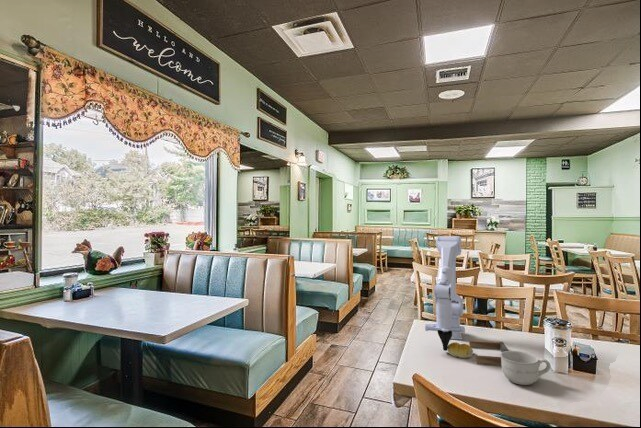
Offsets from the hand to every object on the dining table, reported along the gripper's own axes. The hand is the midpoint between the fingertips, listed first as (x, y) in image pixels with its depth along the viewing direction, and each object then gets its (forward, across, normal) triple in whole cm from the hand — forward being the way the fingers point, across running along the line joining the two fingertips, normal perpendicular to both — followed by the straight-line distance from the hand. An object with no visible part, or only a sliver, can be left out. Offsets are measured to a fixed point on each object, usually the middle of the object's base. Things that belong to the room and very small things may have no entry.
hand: (445, 349), depth 131 cm
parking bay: (+1, +16, 0) cm, 16 cm away
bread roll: (+2, +6, 0) cm, 6 cm away
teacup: (+2, +23, -18) cm, 29 cm away
